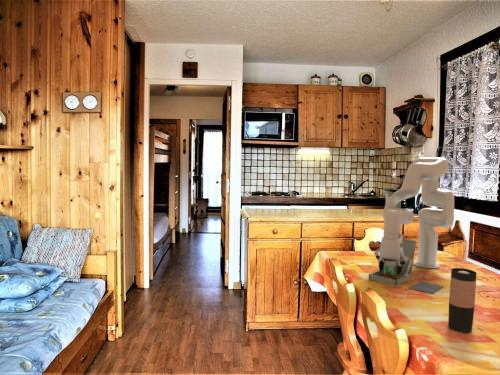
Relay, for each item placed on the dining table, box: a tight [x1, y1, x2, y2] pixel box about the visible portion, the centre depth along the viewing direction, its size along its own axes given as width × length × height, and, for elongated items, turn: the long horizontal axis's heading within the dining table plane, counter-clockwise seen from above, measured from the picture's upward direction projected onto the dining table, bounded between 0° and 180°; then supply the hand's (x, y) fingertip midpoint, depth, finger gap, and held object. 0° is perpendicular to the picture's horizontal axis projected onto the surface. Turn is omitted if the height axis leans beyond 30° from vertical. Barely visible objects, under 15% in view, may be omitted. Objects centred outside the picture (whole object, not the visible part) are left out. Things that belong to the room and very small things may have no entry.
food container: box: [382, 258, 398, 280], centre depth 188 cm, size 12×6×10 cm, turn 167°
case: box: [368, 238, 417, 287], centre depth 189 cm, size 21×14×18 cm, turn 137°
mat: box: [408, 280, 444, 295], centre depth 177 cm, size 14×10×1 cm
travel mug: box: [447, 267, 478, 334], centre depth 133 cm, size 8×8×20 cm
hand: (389, 271), depth 188 cm, fingers open, 8 cm apart
